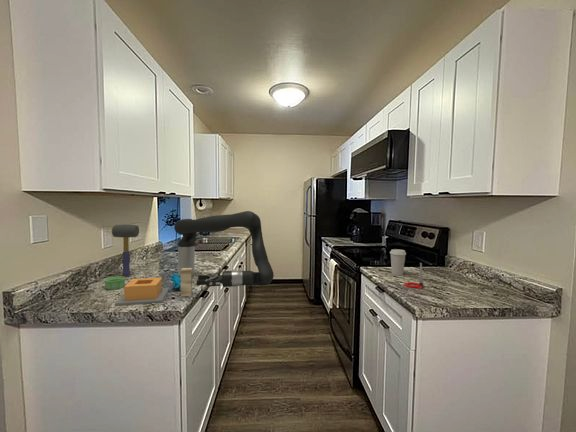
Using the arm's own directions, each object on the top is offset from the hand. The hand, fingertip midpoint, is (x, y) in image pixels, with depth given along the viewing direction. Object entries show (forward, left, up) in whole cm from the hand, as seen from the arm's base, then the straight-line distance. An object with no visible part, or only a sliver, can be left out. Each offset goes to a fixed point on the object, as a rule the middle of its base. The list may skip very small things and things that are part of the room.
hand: (197, 280), depth 130 cm
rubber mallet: (-40, -42, -7) cm, 58 cm away
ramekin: (-19, -41, -7) cm, 46 cm away
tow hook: (+10, +111, -7) cm, 112 cm away
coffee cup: (-14, +118, -7) cm, 119 cm away
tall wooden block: (0, -5, -7) cm, 8 cm away
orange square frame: (0, -23, -6) cm, 24 cm away
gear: (-10, -9, -7) cm, 15 cm away
